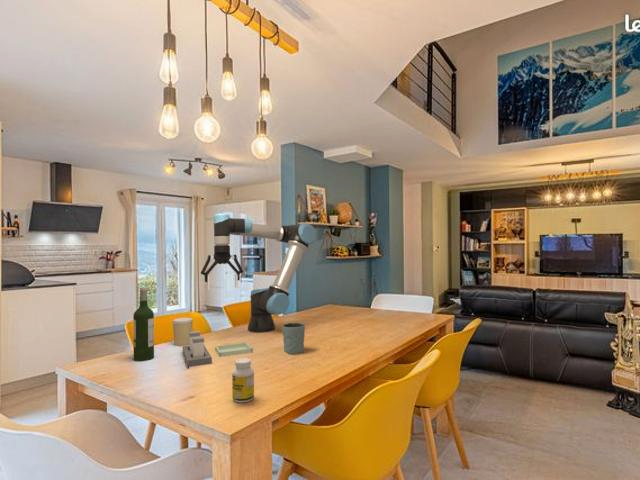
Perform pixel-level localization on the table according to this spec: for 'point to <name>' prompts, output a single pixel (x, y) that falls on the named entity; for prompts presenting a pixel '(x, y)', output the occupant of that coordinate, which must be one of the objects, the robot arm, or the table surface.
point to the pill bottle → (243, 381)
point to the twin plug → (193, 334)
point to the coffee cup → (182, 331)
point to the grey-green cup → (293, 338)
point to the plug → (197, 346)
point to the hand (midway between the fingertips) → (222, 288)
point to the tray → (233, 349)
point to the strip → (197, 360)
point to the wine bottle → (143, 329)
